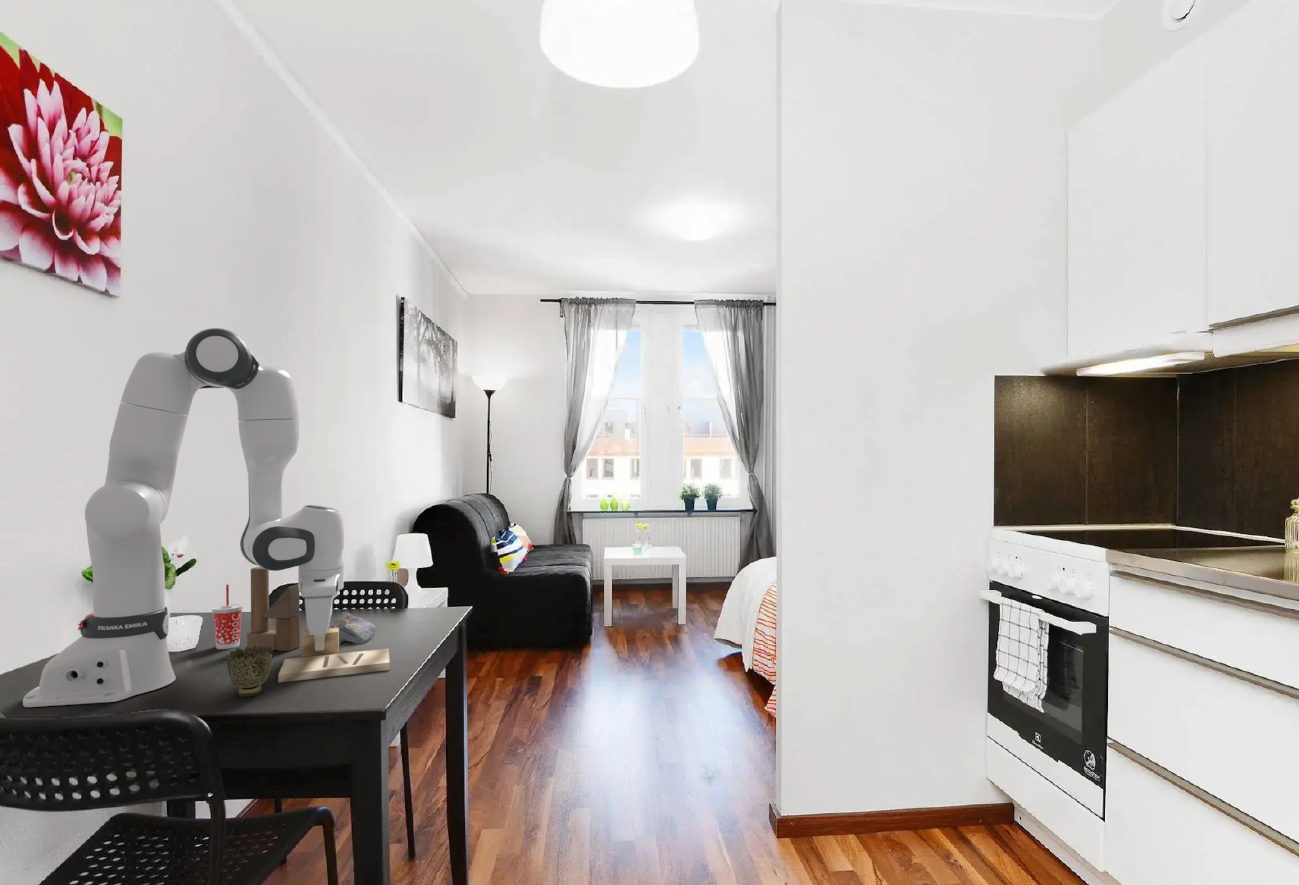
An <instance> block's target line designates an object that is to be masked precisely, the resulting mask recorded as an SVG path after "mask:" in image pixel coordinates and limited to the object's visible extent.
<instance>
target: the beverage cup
mask: <svg viewBox="0 0 1299 885" xmlns="http://www.w3.org/2000/svg"><path fill="white" fill-rule="evenodd" d="M229 587H230V586H229V584H226V585H225V589H226V590H225V594H226V595H225V598H226V599H225V600H226V602H225V604H221V605H220V604H219V605H216V606H213V607H212V608H211V613H213V624H214V627H213V628H214V636H215V637H214V638H215V648H216V649H217V650H227V649H228V650H229V649H234V648H238V647H239V646H240V644H241V643H240V641H241V628H242V625H241V624H242V610H243V609H244V608H243V607H244V605H243V603H242V604H240V603H230V602H229V600H230V599H229V598H230V597H229V594H230V591H229V590H230V588H229Z"/></svg>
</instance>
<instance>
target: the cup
mask: <svg viewBox="0 0 1299 885" xmlns="http://www.w3.org/2000/svg"><path fill="white" fill-rule="evenodd" d="M273 651H274V650H273V648H272V646H271V647H270V648H269V649H268V646H265V648H264V649H263V647H262V646H259V647H258V648H257V647H256V646H254V647H253V649H249V648H248V647H247V646H246V647H245V649H243V648H239V647H236V649H235V650H230V651H229V655H228V653H225V654H226V655H225V656H226V662H227V669H228V670H227V671H228V672H227V673H228V675H229V680H230V683H232V685H233V686H234V687H236V688H238V694H239V696H240V697H245V698H249V697H253V696H257V695H258V694H260V693H261V691H262V690H263V689H262V688H263V687H262V685H263V684H264V683H265V682H266V681H267V679H268V678H269V675H270V673H271V667H272V659H273V658H272V657H273Z"/></svg>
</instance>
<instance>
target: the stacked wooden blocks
mask: <svg viewBox="0 0 1299 885" xmlns="http://www.w3.org/2000/svg"><path fill="white" fill-rule="evenodd" d="M269 575H270V570H267V569H264V568H262V567H260V566H256V567H251V568H250V631H249V632H247V634H246V647H248V648H249V650H252V649H253V647H254V646H256V647H257V648H258V647H259V646H262V647H263V649H264V648H265V646H268V649H269V648H270V647H271V646H272V648H273V651H279V652H280V651H285V652H286V651H287V652H291V651H293V650H296V649H297V648H300V644H301V643H300V642H301V640H300V639H301V637H300V635H301V633H300V631H301V630H300V628H301V627H300V625H301V624H300V622H301V620H300V619H301V618H300V617H301V616H300V613H301V612H300V592H299V591H298V584H295V585H291V586H289V587H287V589H286V590H284V592H282V594H281V595H280V596H279V597H278V598H277V600H276V601H275V602H274V603H273V604H272V605H271V606H270V586H269V584H270V582H269V581H270V579H269V577H270V576H269ZM270 619H275V630H274V629H270Z"/></svg>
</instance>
